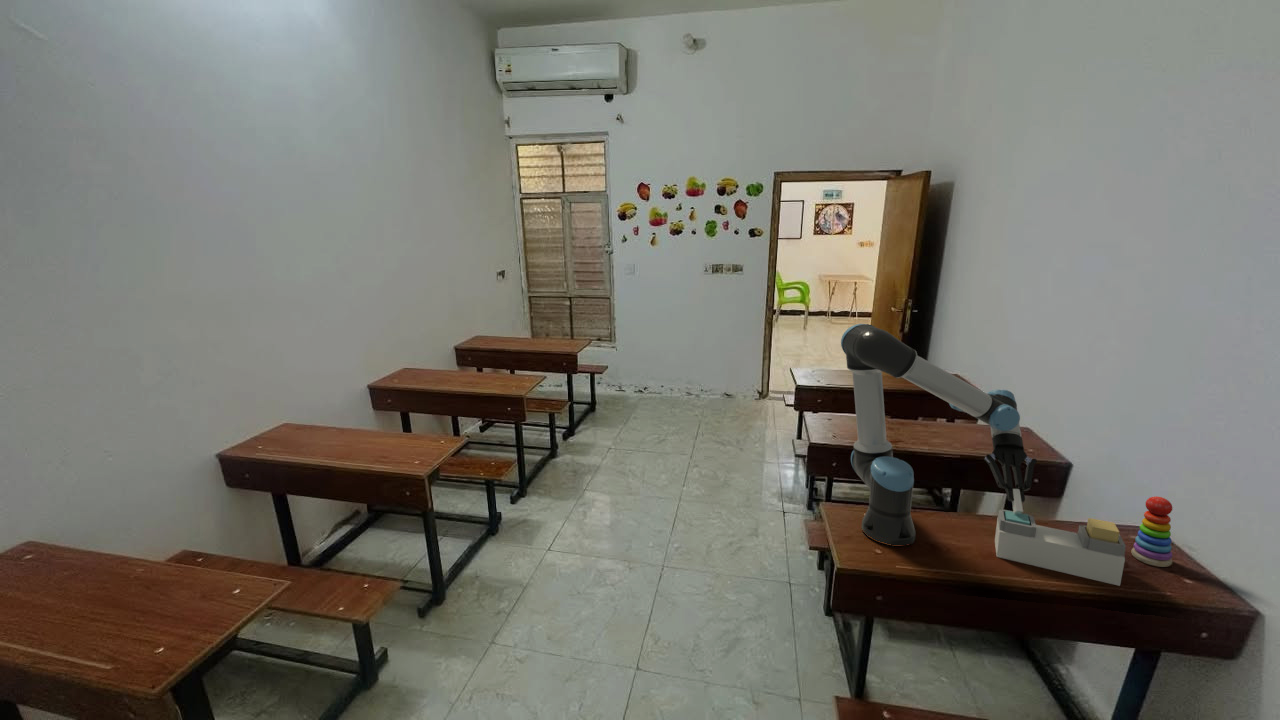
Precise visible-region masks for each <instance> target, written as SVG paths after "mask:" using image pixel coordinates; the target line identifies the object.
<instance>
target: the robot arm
mask: <svg viewBox="0 0 1280 720" xmlns="http://www.w3.org/2000/svg"><path fill="white" fill-rule="evenodd" d="M840 345H841V349H842V351H843V353H844V354H845V357H846V359H845V360H846V368H847V369H848V370H849V371H850V372H851V373H852V381H853V382H852V383H853V384H852V385H853V393H854V405H855V407H854V409H855V418H856V419H855V420H856V431H857V440H856V441H854V443H853V450H852V451H851V454H850V463H851V466H852V469H853V471H854V472H855V473H856V475H857V476H858V477H859V478H860V479H861V480H862V482H863V483H864V484H865V485H866V486H867V488H868V489H869V498H868V499H869V500H868V508H867V510H866V512H865V514H864V516H863V518H862V520H861V528H862V529H863V531H864V532H865V533H866V534H867V535H868V536H870V537H872V538H873V539H875V540H877V541H880V542H884V543H887V544H891V545H907V544H911V543H912V544H914V543H915V541H916V529H915V525H914V521H913V519H912V514H911V513H912V501H913V492H914V483H915V478H914V474H915V473H914V470H913V467H912V466H911V465H910V464H909V463H908V462H907V461H906V460H905V461H904V460H903V459H900V458H897V457H895V456H893V455H894V452H893V445H892V443H891V442H890V441H888V440H887V430H886V429H887V427H886V413H885V403H884V402H885V398H884V385H883V373H885V374H888V375H890V376H891V377H894V378H896V379H900V378H903V379H904V380H907V381H908V382H910V383H911V384H914V385H915V386H917V387H919V388H921V389H923V390H924V391H926V392H928V393H930V394H932V395H934V396H935V397H938V398H939V399H941V400H943V401H945V402H947V403H948V404H949V406H950V408H951V409H953V410H956V411H958V412H963V413H965V414H966V413H967V414H968V415H970V416H971V417H974V418H975V419H977V420H979V421H981V422H983V423H984V424H985V425H989V426H990V434H991V443H992V448H993V450H992V453H991V454H986V455H985V457H984V458H983V459H984V461H985V462H986V463H987V464H988V467H989V468H990V471H991V472H992V475H993V477H994V480H995V482H996V483H995V484H996V485H997V487H998V488H999V489H1003V490H1004V491H1005V492H1006V496H1007V500H1008V502H1011V504H1012V511H1013V512H1014V514H1021V513H1024V509H1023V508H1024V507H1023V503H1024V502H1025V501H1026V496H1025V492H1028V491H1029V490H1030V489H1031V488H1032V484H1033V476H1034V466H1036V463H1037V462H1038V459H1037V458H1031V457H1029V456H1028V454H1027V452H1025V448H1024V442H1023V441H1024V440H1023V437H1022V430H1021V425H1020V420H1021V415H1020V412H1019V411H1018V405H1017V401H1016V399H1015V395H1014V394H1013V393H1012V392H1011V391H1010V390H1008V389H994V390H991V391H988V392H987V393H986V392H984V391H983V390H981V389H979V388H977V387H976V386H974V385H972V384H970V383H968V382H966V381H964V380H963V379H961V378H960V377H957V376H956V375H953V374H951V373H950V372H948V371H946V370H945V369H943V368H941V367H939V366H937V365H935V363H932V362H930V361H928V360H926V359H925V358H923V357H921V356H919V355H918V353H917V352H918V351H916V349H914V348H912V347H911V346H908V345H907V344H905V343H904V342H903V341H901V340H899V339H898V338H897V337H895V336H894V335H893V334H891V333H890V332H889V331H886V330H884V329H881V328H878V327H876V326H874V325H873V324H869V323H868V324H867V323H858V324H854V325H852V326H850V327H849V328H848V327H847V329H846V330H845V331H844V332H843V334H842V337H841V340H840ZM996 461H997V462H998V463H1000V464H1001V469H1002V473H1003V475H1002V473H1001V470H1000V468H999V466H998V464H997V462H996ZM1024 461H1025V465H1026V468H1025V473H1024V474H1025V475H1024V480H1023V473H1022V469H1021V468H1022V465H1021V464H1022V463H1024ZM1011 469H1012V471H1011ZM1012 472H1013V478H1014V483H1015V488H1014V486H1013V485H1014V484H1013V478H1012ZM862 529H861V530H862ZM912 544H911V545H912Z"/></svg>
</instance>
